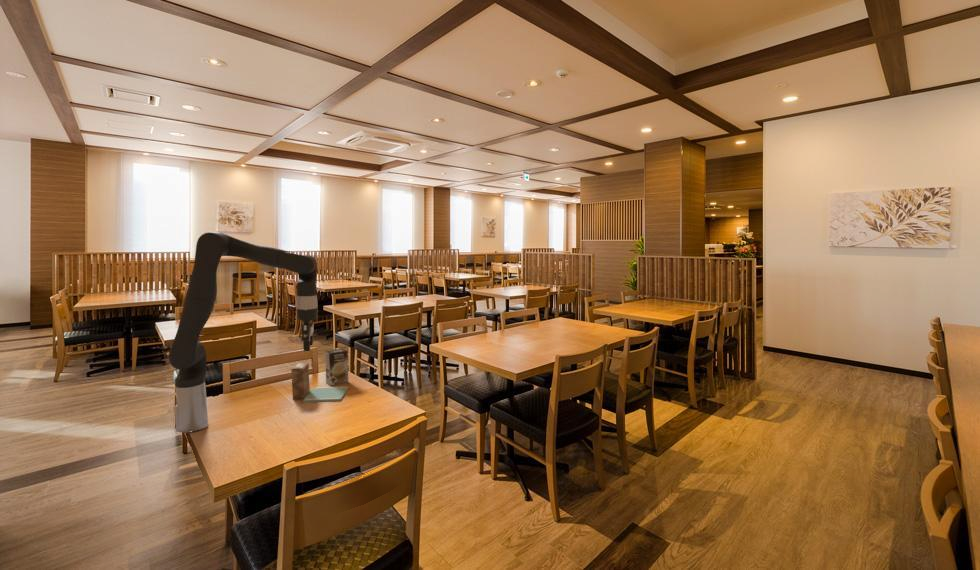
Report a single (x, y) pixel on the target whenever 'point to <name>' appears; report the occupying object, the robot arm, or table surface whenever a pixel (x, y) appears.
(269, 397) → the table surface
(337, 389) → the mat
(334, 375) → the coffee box
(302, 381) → the walnut block
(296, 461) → the table surface
